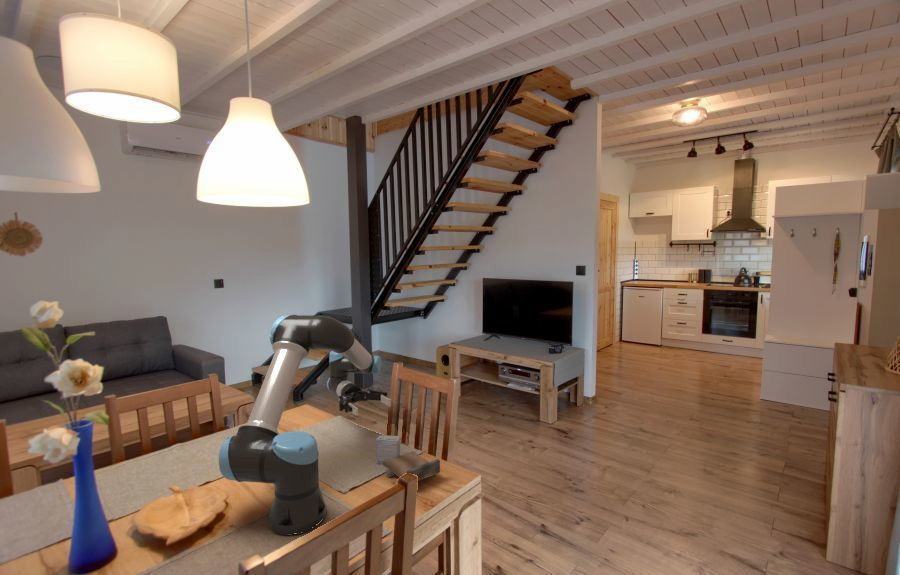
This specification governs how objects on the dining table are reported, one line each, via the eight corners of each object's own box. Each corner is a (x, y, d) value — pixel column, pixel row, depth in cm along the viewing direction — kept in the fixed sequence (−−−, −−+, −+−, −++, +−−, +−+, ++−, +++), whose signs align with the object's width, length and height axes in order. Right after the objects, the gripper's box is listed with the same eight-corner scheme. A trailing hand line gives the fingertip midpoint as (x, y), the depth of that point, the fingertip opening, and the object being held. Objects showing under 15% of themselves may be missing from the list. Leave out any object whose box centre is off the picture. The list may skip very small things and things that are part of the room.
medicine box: (400, 458, 152) (400, 435, 152) (398, 465, 148) (397, 441, 147) (379, 458, 153) (378, 434, 152) (376, 464, 149) (375, 440, 148)
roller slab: (407, 493, 131) (407, 473, 130) (381, 472, 143) (381, 453, 143) (441, 478, 139) (441, 459, 138) (414, 460, 151) (413, 442, 151)
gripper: (376, 394, 182) (402, 408, 166) (320, 408, 167) (342, 426, 150) (375, 377, 182) (402, 390, 165) (319, 389, 166) (342, 405, 150)
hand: (374, 407), depth 158 cm, fingers open, 13 cm apart
